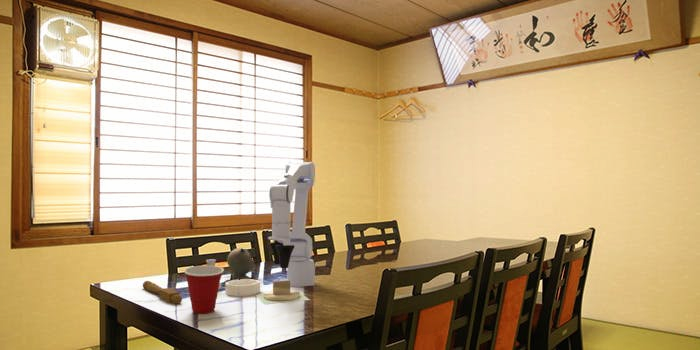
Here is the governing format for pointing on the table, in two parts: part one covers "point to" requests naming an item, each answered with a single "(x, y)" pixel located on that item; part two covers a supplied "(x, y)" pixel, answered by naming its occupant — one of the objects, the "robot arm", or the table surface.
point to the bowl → (242, 287)
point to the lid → (281, 292)
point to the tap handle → (163, 292)
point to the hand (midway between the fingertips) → (281, 266)
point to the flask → (212, 263)
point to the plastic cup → (203, 287)
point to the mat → (261, 297)
